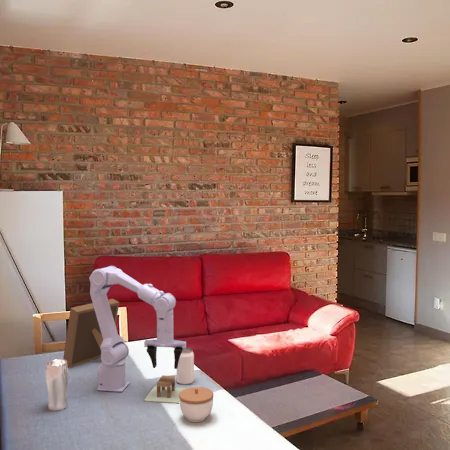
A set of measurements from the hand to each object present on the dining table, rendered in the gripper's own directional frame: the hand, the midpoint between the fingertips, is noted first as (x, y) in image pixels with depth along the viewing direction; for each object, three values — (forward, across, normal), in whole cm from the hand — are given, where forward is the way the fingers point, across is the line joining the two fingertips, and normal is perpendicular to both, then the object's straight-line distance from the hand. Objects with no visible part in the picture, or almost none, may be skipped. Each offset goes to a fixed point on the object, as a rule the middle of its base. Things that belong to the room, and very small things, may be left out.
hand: (165, 367), depth 164 cm
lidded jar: (+10, +14, -15) cm, 23 cm away
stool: (+10, 0, 0) cm, 10 cm away
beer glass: (+10, -33, -14) cm, 37 cm away
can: (+10, +4, +13) cm, 17 cm away
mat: (+10, 0, 0) cm, 10 cm away
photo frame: (+10, -37, +29) cm, 48 cm away
